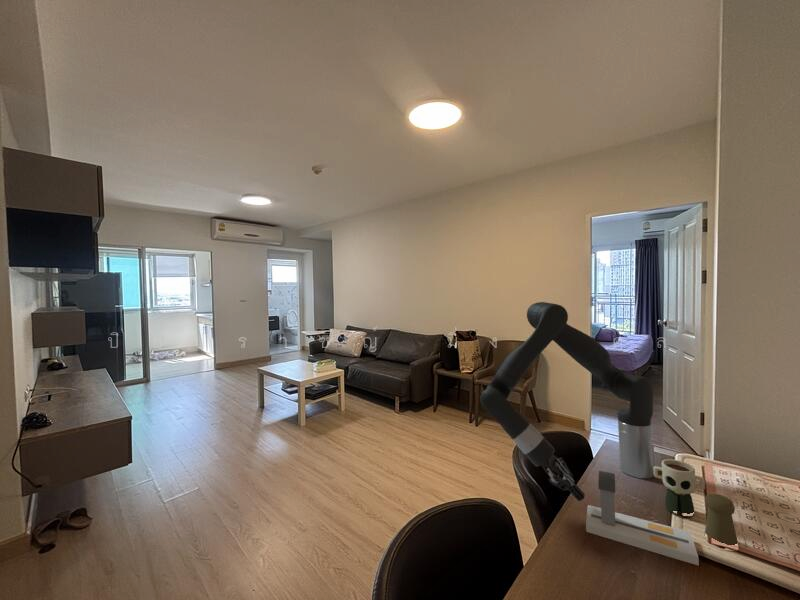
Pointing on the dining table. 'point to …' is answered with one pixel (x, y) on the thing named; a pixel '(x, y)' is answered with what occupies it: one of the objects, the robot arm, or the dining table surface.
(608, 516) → the fader knob
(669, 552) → the fader console
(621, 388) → the robot arm
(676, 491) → the character mug
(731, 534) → the cork
